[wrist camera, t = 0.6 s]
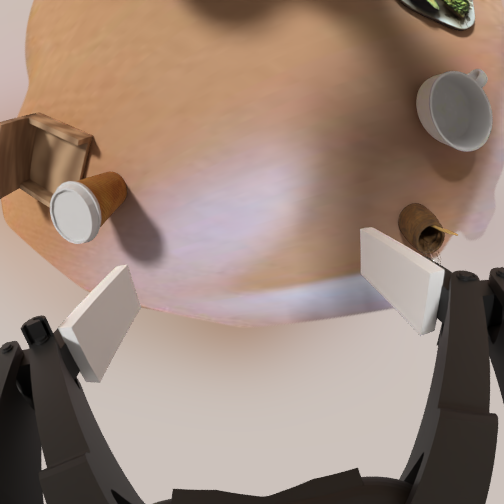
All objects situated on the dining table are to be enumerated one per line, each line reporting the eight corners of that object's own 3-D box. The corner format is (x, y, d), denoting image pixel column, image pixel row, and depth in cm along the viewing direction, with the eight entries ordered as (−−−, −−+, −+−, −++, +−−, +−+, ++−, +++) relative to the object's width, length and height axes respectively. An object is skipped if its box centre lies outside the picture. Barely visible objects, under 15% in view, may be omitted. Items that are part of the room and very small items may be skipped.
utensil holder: (393, 233, 41) (420, 274, 31) (402, 197, 38) (436, 230, 28) (422, 238, 41) (453, 278, 31) (432, 203, 38) (470, 237, 28)
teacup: (434, 155, 34) (460, 167, 27) (393, 98, 31) (416, 98, 24) (482, 108, 28) (512, 113, 21) (446, 52, 25) (474, 47, 18)
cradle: (93, 135, 39) (49, 149, 29) (77, 208, 46) (40, 234, 36) (38, 112, 36) (-3, 123, 27) (28, 179, 44) (-8, 198, 34)
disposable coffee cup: (97, 154, 40) (50, 174, 30) (141, 175, 41) (99, 200, 31) (87, 201, 45) (46, 230, 34) (127, 222, 46) (90, 257, 36)
